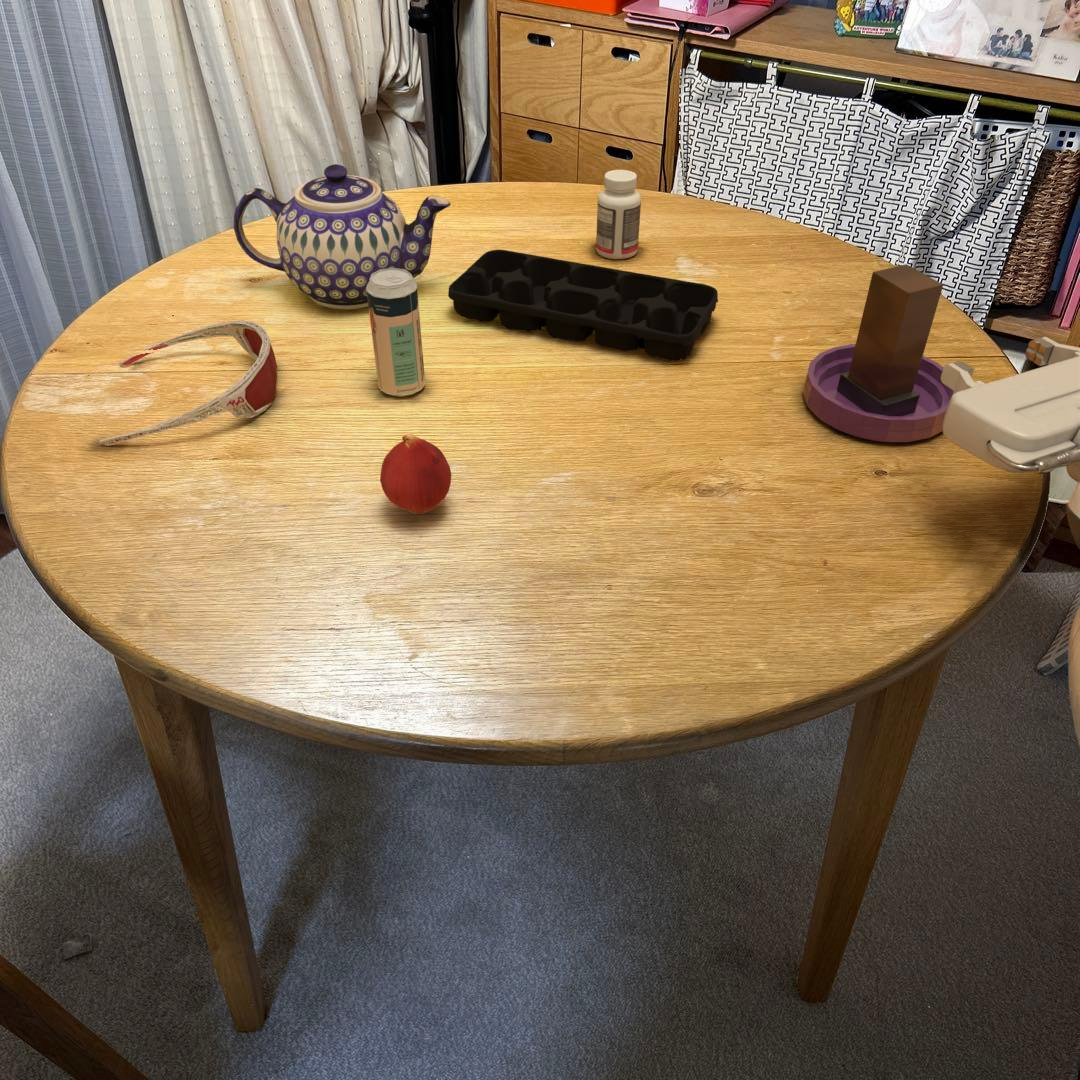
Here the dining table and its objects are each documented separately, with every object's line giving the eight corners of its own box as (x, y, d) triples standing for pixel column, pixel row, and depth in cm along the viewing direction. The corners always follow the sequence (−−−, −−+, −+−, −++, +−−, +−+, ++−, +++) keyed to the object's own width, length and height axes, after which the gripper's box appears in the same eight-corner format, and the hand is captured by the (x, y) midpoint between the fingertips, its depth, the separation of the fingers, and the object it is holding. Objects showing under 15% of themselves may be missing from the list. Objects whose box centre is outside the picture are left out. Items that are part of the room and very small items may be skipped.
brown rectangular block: (915, 412, 94) (952, 287, 85) (879, 423, 92) (914, 297, 84) (870, 381, 98) (901, 259, 90) (836, 390, 97) (864, 268, 88)
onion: (424, 482, 86) (417, 406, 80) (467, 511, 83) (462, 433, 77) (372, 511, 83) (361, 433, 77) (414, 542, 79) (405, 463, 74)
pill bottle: (634, 242, 125) (639, 166, 119) (640, 260, 121) (646, 182, 115) (593, 243, 125) (596, 167, 119) (597, 261, 121) (601, 183, 115)
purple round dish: (951, 382, 99) (959, 356, 97) (949, 458, 89) (959, 431, 87) (811, 359, 102) (816, 334, 100) (794, 430, 92) (799, 404, 90)
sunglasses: (287, 429, 92) (268, 385, 88) (113, 476, 91) (87, 433, 88) (285, 342, 104) (269, 301, 101) (133, 382, 104) (111, 342, 100)
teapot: (228, 316, 110) (198, 186, 100) (267, 260, 121) (244, 139, 112) (445, 324, 108) (436, 194, 99) (464, 267, 120) (457, 145, 110)
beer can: (400, 370, 101) (389, 261, 93) (435, 384, 98) (426, 274, 91) (368, 390, 98) (354, 279, 90) (403, 405, 95) (392, 292, 88)
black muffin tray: (710, 369, 101) (714, 337, 98) (433, 343, 105) (431, 312, 102) (718, 295, 114) (722, 265, 111) (471, 274, 118) (470, 245, 116)
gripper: (1013, 512, 70) (886, 418, 80) (1203, 444, 77) (1065, 364, 86) (1042, 441, 66) (904, 350, 76) (1240, 375, 73) (1091, 299, 82)
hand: (991, 357), depth 81 cm, fingers open, 8 cm apart
